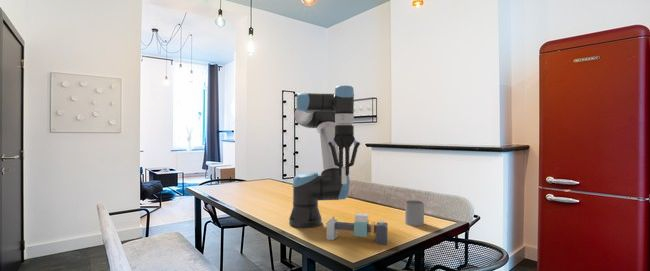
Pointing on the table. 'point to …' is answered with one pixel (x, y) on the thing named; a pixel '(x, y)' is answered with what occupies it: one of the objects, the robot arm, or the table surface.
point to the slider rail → (333, 226)
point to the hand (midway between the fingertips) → (344, 183)
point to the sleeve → (361, 225)
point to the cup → (414, 213)
